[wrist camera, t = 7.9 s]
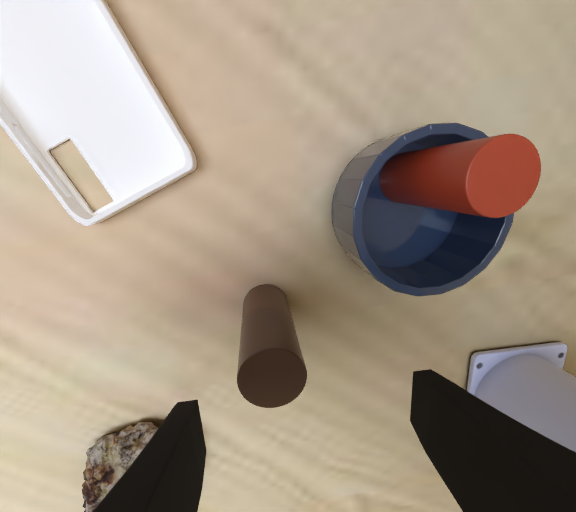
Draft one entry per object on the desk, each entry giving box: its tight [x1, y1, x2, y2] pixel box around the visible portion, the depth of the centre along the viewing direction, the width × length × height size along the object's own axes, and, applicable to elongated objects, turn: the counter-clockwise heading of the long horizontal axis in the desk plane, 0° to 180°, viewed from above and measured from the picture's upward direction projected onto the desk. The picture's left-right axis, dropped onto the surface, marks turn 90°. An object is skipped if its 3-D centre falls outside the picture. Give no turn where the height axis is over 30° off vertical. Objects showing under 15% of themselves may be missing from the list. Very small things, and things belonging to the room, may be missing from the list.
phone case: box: [0, 0, 197, 226], centre depth 14 cm, size 7×1×15 cm
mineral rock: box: [82, 422, 158, 512], centre depth 21 cm, size 11×4×8 cm
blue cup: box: [332, 123, 514, 296], centre depth 17 cm, size 9×9×4 cm
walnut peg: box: [237, 285, 307, 408], centre depth 16 cm, size 3×3×8 cm
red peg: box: [380, 134, 541, 218], centre depth 14 cm, size 3×3×8 cm
